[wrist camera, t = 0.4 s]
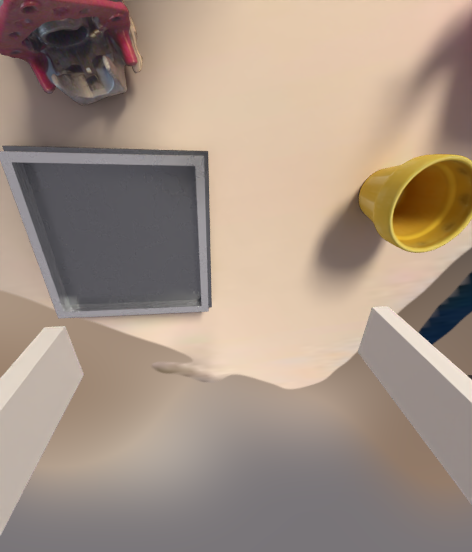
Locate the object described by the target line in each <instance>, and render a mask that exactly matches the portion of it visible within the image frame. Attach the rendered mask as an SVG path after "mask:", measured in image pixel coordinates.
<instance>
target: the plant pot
mask: <svg viewBox="0 0 472 552" xmlns="http://www.w3.org/2000/svg"><path fill="white" fill-rule="evenodd" d="M359 205H360V208H361V210H362V211H363V213H364V214H365V215H366V216H367V217H368V218H369V219H370V220H371V221H372V222H373V223H374V225H375V228H376V230H377V232H378V233H379V235H380V236H381V237H382V238H384V239H385V240H386V241H388V242H390V243H391V244H393V245H395V246H397V247H399V248H401V249H403V250H405V251H408V252H415V253H421V252H427V251H431V250H434V249H437V248H439V247H441V246H443V245H445V244H446V243H448V242H449V241H451V240H452V239H454V238H455V237H456V236H457V235H458V234H459V233H460V232H461V231H462V230H463V229H464V228H465V227H466V226H467V225H468V223H469V222H470V221H471V219H472V161H471V160H470V159H468V158H466V157H464V156H460V155H451V154H434V155H424V156H419V157H416V158H414V159H411V160H409V161H407V162H406V163H404V164H402V165H399V166H395V167H390V168H385V169H381V170H379V171H377V172H375V173H373V174H372V175H371V176H370V177H369V178H368V179H367V180H366V181H365V182H364V184H363V186H362V187H361V190H360V193H359Z"/></svg>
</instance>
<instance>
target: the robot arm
mask: <svg viewBox="0 0 472 552" xmlns="http://www.w3.org/2000/svg"><path fill="white" fill-rule="evenodd" d="M358 353H359V354H360V356H361V357H362V358H363V360H364V361H365V363H366V364H367V365H368V366H369V368H370V369H371V371H372V372H373V373H374V375H375V376H376V377H377V379H378V380H379V381H380V383H381V384H382V385H383V387H384V388H385V389H386V391H387V392H388V393H389V395H390V396H391V397H392V399H393V400H394V401H395V403H396V404H397V405H398V407H399V408H400V409H401V411H402V412H403V413H404V415H405V416H406V418H407V419H408V420H409V422H410V423H411V424H412V426H413V427H414V428H415V430H416V431H417V432H418V434H419V435H420V436H421V437H422V439H423V440H424V442H425V443H426V444H427V446H428V447H429V448H430V450H431V451H432V452H433V454H434V455H435V456H436V458H437V459H438V460H439V462H440V463H441V464H442V466H443V467H444V468H445V470H446V471H447V472H448V474H449V475H450V477H451V478H452V479H453V480H454V482H455V483H456V484H457V486H458V487H459V489H460V490H461V491H462V493H463V494H464V495H465V496H466V498H467V499H468V500H469V502H470V503H471V505H472V375H466V374H464V373H463V372H462V371H461V370H460V369H459V368H458V367H456V366H455V365H454V364H453V363H452V362H451V361H449V359H447V358H446V357H445V356H444V355H443V354H442V353H440V352H439V351H438V350H437V349H436V348H435V347H434V346H433V345H431V344H430V343H429V342H428V341H427V340H426V339H425V338H423V337H422V336H421V335H420V334H419V333H418V332H416V331H415V330H414V329H413V328H412V327H411V326H410V325H408V324H407V323H406V322H405V321H404V320H403V319H402V318H401V317H399V316H398V315H397V314H396V313H395V312H394V311H393V310H391V309H390V308H389V307H388V306H384V307H372V309H371V312H370V316H369V319H368V322H367V325H366V328H365V331H364V334H363V338H362V341H361V344H360V347H359V350H358ZM83 375H84V373H83V371H82V368H81V366H80V363H79V360H78V358H77V356H76V353H75V350H74V348H73V345H72V342H71V340H70V337H69V335H68V332H67V329H66V327H65V326H58V327H44V329H43V330H42V331H41V332H40V333H39V334H38V336H37V337H36V338H35V339H34V340H33V341H32V342H31V344H30V345H29V346H28V347H27V348H26V349H25V350H24V352H23V353H22V354H21V355H20V356H19V357H18V359H17V360H16V361H15V362H14V363H13V364H12V365H11V367H10V368H9V369H8V370H7V371H6V372H5V373H4V375H3V376H2V377H1V378H0V535H1V533H2V531H3V529H4V527H5V526H6V524H7V522H8V520H9V518H10V515H11V514H12V512H13V510H14V508H15V506H16V504H17V502H18V501H19V499H20V497H21V495H22V493H23V491H24V489H25V487H26V485H27V483H28V481H29V479H30V477H31V476H32V474H33V472H34V470H35V468H36V466H37V464H38V462H39V460H40V458H41V456H42V454H43V452H44V450H45V449H46V447H47V445H48V443H49V441H50V439H51V437H52V435H53V433H54V431H55V429H56V427H57V425H58V424H59V422H60V419H61V418H62V416H63V414H64V412H65V410H66V408H67V406H68V404H69V402H70V400H71V398H72V397H73V395H74V392H75V391H76V389H77V387H78V385H79V383H80V381H81V379H82V377H83Z"/></svg>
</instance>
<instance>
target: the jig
mask: <svg viewBox="0 0 472 552" xmlns="http://www.w3.org/2000/svg"><path fill="white" fill-rule="evenodd" d="M2 147H3V149H4V151H0V161H1V164H2V166H3V169H4V172H5V174H6V177H7V180H8V183H9V185H10V188H11V191H12V194H13V196H14V199H15V202H16V204H17V207H18V210H19V213H20V215H21V218H22V221H23V223H24V226H25V229H26V232H27V234H28V237H29V240H30V243H31V245H32V248H33V251H34V253H35V256H36V259H37V262H38V264H39V267H40V270H41V273H42V275H43V278H44V281H45V283H46V286H47V289H48V292H49V294H50V297H51V300H52V303H53V305H54V308H55V311H56V313H57V316H58V318H75V317H97V316H119V315H140V314H162V313H183V312H205V311H209V309H208V307H212V302H211V259H210V215H209V171H208V151H184V150H146V149H109V148H72V147H35V146H2Z"/></svg>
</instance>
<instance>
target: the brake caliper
mask: <svg viewBox="0 0 472 552" xmlns="http://www.w3.org/2000/svg"><path fill="white" fill-rule="evenodd" d="M136 40H137V33H136V30H135V27H134V24H133V21H132V19H131V17H130V15H129V11H128V9H127V7H126V6H125V5H124V2H123V0H0V54H2V55H7V56H10V57H14V58H20V59H23V60H25V61H27V62H28V63H29V64H30V66H31V68H32V69H33V71H34V73H35V75H36V77H37V79H38V81H39V83H40V85H41V86H42V88H43V90H44V91H45V92H46V93H52V92H53V91H54V90H55V88H56V87H57V88H58V89H60V90H61V91H62V92H64V93H65V94H66V95H67V96H69V97H70V98H71V99H73V100H74V101H75V102H77V103H79V104H80V105H87V104H90V103H94V102H96V101H98V100H100V99H102V98H105V97H108V96H113V95H117V94H121V93H124V92H126V91H127V87H126V79H125V72H124V67H125V65H127V66H132V68H133V70H134V72H135V73H138V72H140V71H141V67H142V57H141V55H140V54H139V52H138V50H137V47H136Z"/></svg>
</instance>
